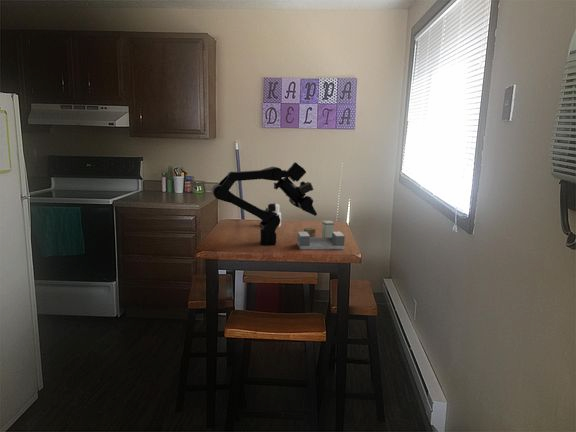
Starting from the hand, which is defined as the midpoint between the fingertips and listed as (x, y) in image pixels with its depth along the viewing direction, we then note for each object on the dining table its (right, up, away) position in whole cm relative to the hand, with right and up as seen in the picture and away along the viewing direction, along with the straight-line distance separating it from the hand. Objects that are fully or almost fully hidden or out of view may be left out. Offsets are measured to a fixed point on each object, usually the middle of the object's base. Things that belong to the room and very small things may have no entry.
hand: (312, 213), depth 198 cm
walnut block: (-1, -11, +12) cm, 16 cm away
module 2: (+11, -13, -6) cm, 18 cm away
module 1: (-5, -13, -8) cm, 16 cm away
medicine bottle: (-19, -7, +34) cm, 40 cm away
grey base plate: (+3, -15, -7) cm, 16 cm away
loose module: (+7, -13, +4) cm, 15 cm away
